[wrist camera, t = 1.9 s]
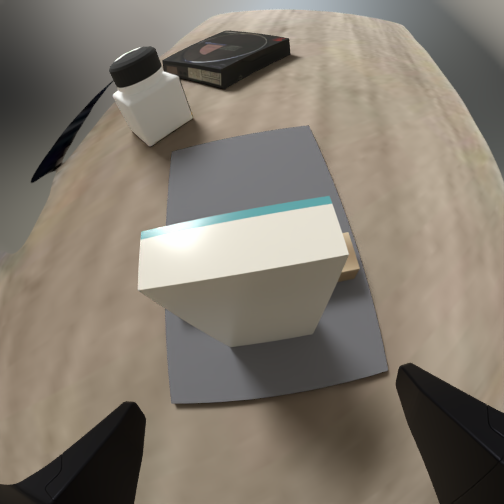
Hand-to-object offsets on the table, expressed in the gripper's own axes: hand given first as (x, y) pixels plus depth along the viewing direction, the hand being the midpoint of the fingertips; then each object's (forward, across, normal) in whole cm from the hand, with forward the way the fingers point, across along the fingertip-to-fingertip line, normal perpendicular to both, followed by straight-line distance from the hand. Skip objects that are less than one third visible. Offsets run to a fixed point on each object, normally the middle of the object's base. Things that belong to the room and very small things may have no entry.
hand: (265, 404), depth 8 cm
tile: (+6, 0, 0) cm, 6 cm away
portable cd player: (+44, 0, -27) cm, 52 cm away
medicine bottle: (+32, +10, -15) cm, 37 cm away
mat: (+17, 0, -1) cm, 17 cm away
